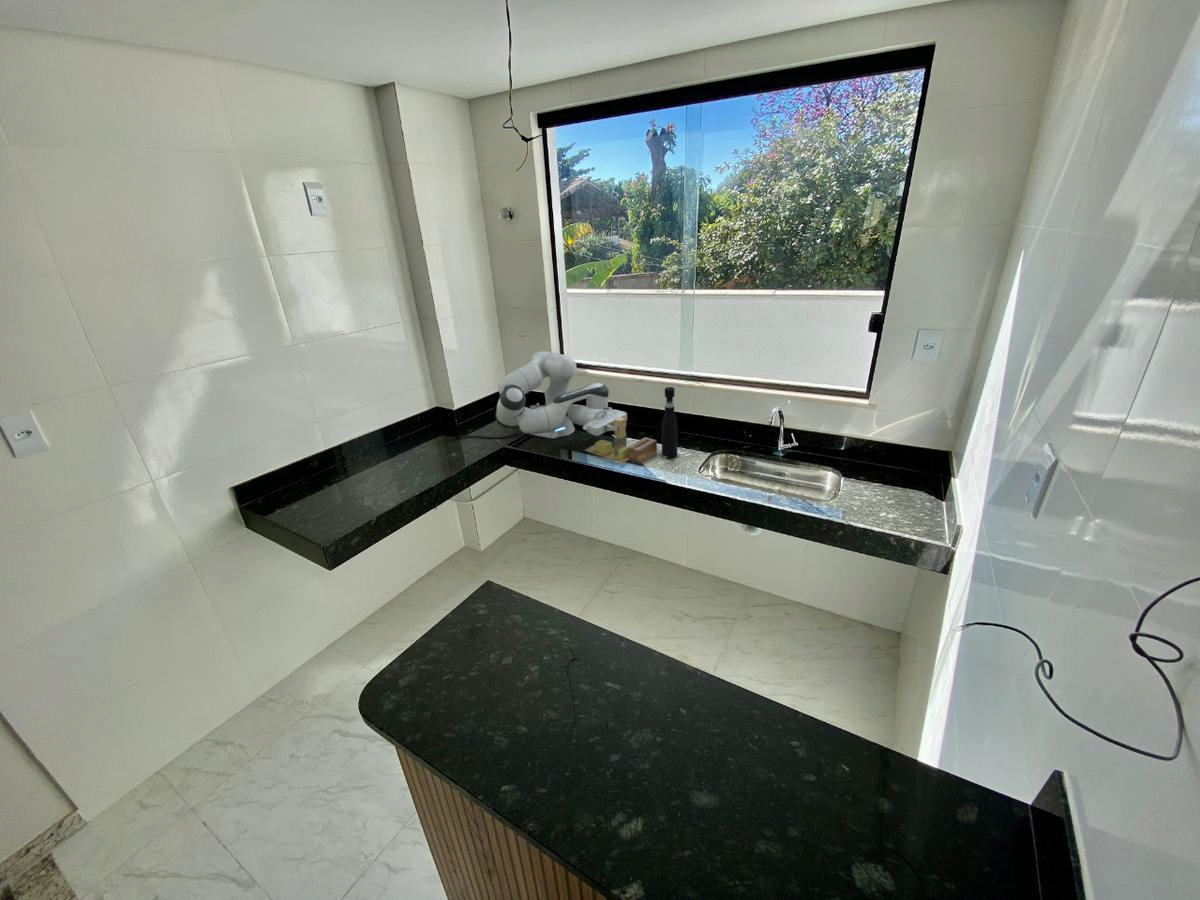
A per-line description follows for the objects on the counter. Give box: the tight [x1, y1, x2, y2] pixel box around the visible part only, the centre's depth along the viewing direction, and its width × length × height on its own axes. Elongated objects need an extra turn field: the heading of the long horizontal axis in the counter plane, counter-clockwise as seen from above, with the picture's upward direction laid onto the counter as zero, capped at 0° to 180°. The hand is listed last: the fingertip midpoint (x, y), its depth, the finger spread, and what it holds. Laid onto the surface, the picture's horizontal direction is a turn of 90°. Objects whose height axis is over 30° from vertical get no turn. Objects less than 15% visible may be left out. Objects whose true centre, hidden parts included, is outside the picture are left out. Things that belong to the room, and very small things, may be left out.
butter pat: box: [617, 446, 629, 460], centre depth 205 cm, size 2×4×4 cm, turn 138°
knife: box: [613, 417, 628, 457], centre depth 202 cm, size 3×8×16 cm, turn 138°
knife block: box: [628, 436, 658, 464], centre depth 205 cm, size 6×12×7 cm, turn 138°
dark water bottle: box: [661, 386, 678, 460], centre depth 200 cm, size 6×6×30 cm
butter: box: [594, 439, 614, 454], centre depth 212 cm, size 6×4×4 cm
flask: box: [528, 402, 543, 409], centre depth 247 cm, size 9×3×11 cm, turn 87°
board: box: [584, 444, 630, 464], centre depth 211 cm, size 22×9×1 cm, turn 48°
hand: (621, 427), depth 200 cm, fingers closed on knife, 3 cm apart
